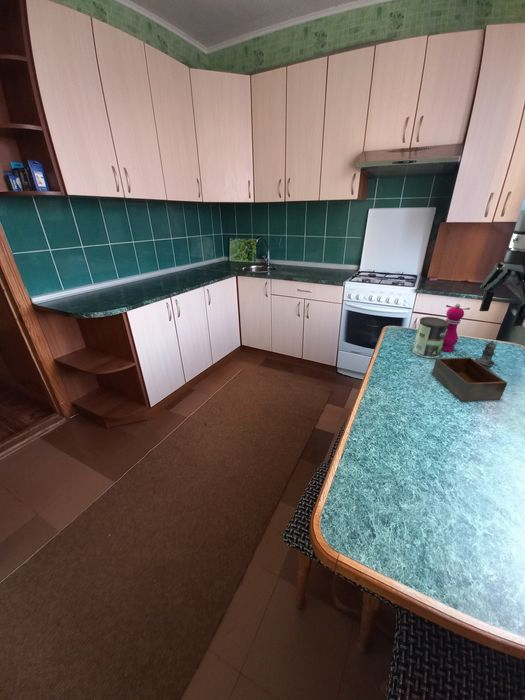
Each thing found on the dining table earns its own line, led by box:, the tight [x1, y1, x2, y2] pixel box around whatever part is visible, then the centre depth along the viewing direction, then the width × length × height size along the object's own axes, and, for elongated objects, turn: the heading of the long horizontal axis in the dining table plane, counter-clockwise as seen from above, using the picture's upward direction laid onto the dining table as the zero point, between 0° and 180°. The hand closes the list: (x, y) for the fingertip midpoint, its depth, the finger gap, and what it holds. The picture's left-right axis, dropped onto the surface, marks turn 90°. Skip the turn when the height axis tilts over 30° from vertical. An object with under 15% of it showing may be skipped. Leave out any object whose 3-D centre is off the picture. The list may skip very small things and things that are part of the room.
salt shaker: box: [474, 340, 497, 370], centre depth 106 cm, size 6×6×12 cm
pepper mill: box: [441, 303, 465, 353], centre depth 120 cm, size 7×7×20 cm
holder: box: [431, 356, 508, 403], centre depth 98 cm, size 13×17×7 cm
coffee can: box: [412, 316, 449, 359], centre depth 118 cm, size 10×10×14 cm
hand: (499, 317), depth 94 cm, fingers open, 13 cm apart
